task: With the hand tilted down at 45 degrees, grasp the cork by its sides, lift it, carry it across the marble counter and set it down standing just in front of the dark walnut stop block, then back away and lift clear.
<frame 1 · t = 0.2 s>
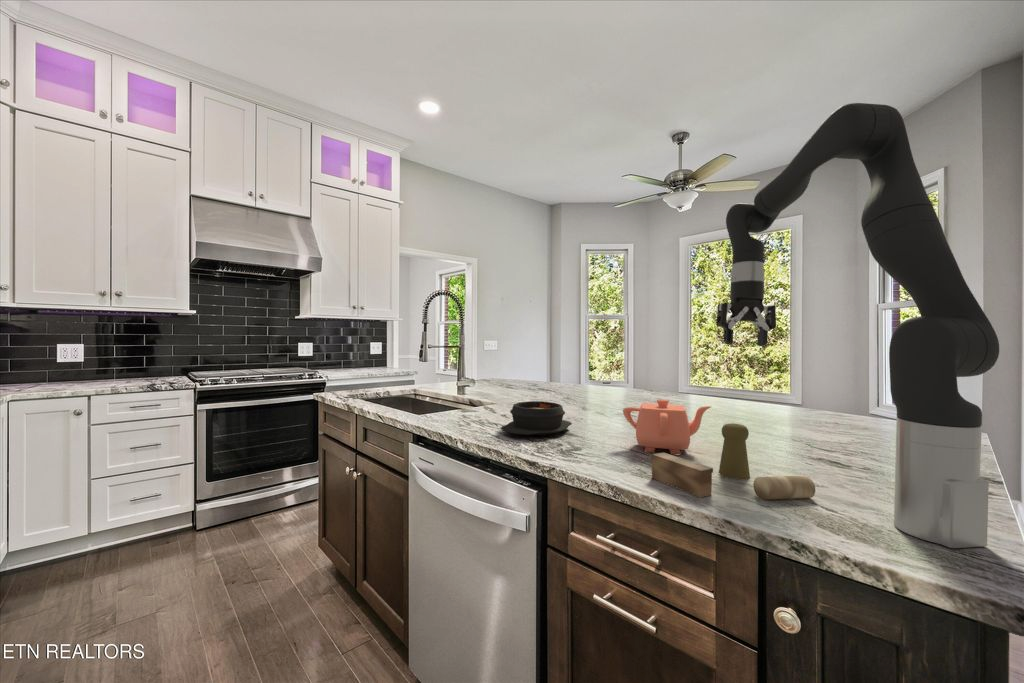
hand: (745, 345, 109), 28 cm above the worktop, tool pointing down, fingers open, 8 cm apart
casserole: (537, 432, 132), on the worktop
teapot: (665, 450, 113), on the worktop
stop block: (680, 486, 85), on the worktop
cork: (734, 475, 93), on the worktop
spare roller: (783, 498, 80), on the worktop
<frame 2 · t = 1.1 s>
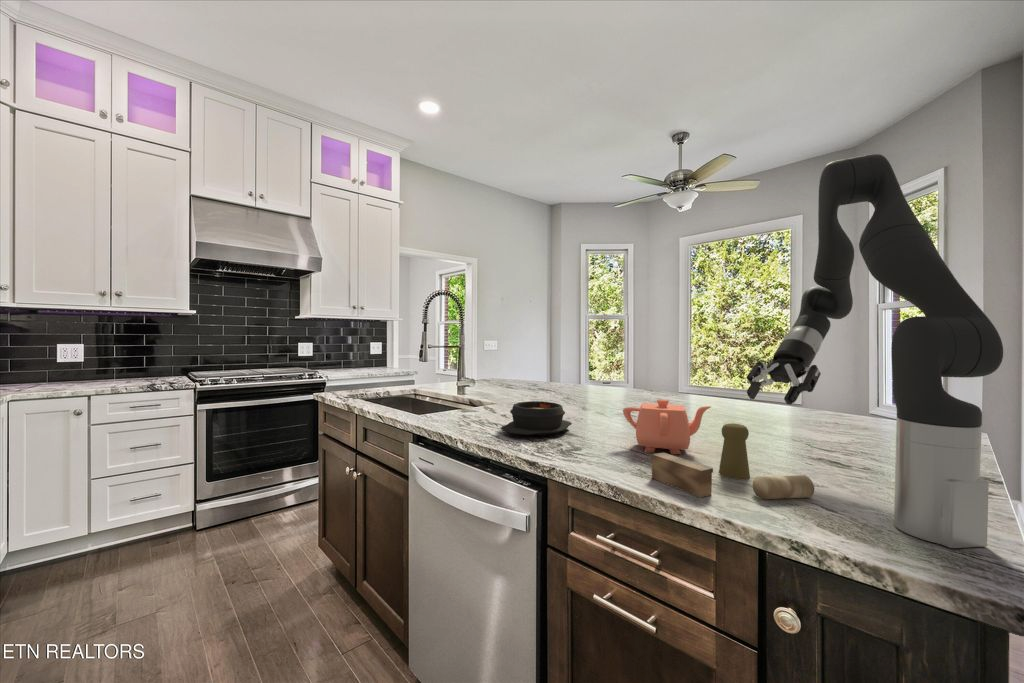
hand: (768, 399, 98), 16 cm above the worktop, tool tilted 45°, fingers open, 8 cm apart
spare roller: (783, 498, 80), on the worktop, tilted 8°
everything else where it was.
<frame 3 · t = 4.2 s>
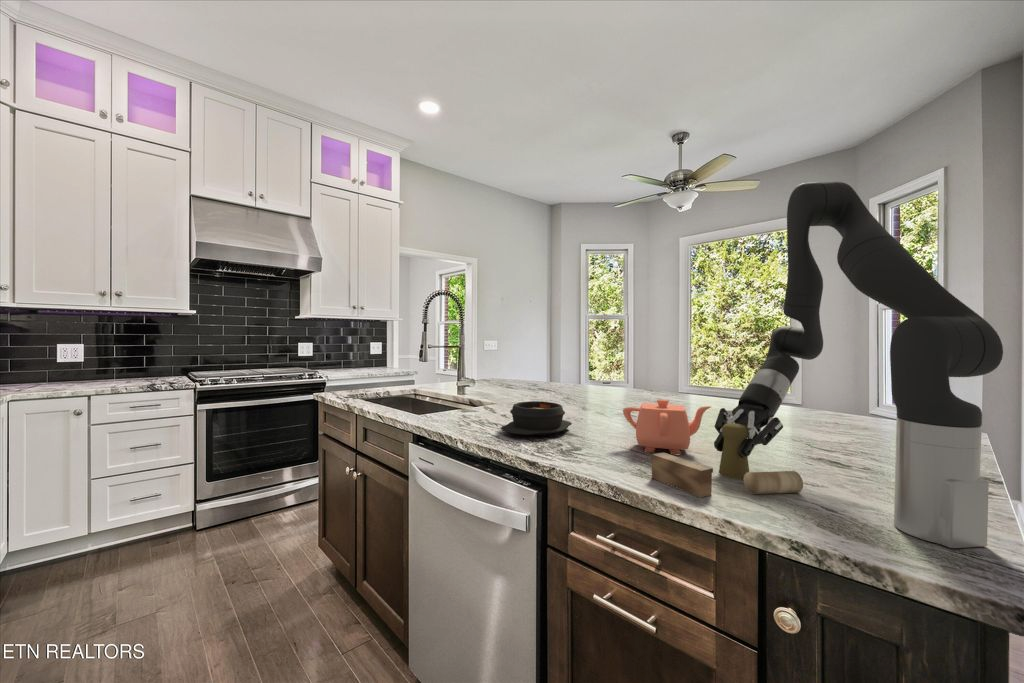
hand: (729, 452, 92), 5 cm above the worktop, tool tilted 45°, fingers closed on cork, 5 cm apart
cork: (734, 475, 93), on the worktop, touching gripper
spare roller: (780, 486, 81), point 2 cm above the worktop, tilted 85°
everything else where it was.
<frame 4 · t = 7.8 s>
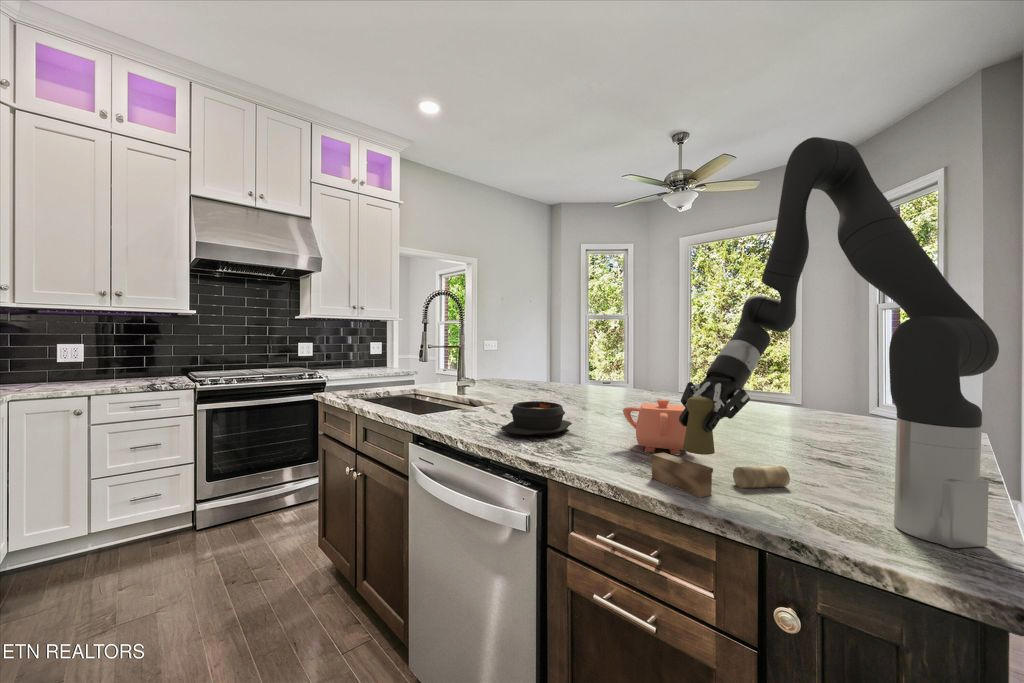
hand: (693, 426, 87), 12 cm above the worktop, tool tilted 45°, fingers closed on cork, 5 cm apart
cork: (698, 451, 88), point 6 cm above the worktop, touching gripper
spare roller: (760, 466, 86), point 4 cm above the worktop, tilted 176°
everything else where it was.
when the fingers open (6 cm above the worktop, at t = 9.1 s): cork stays where it is, on the worktop.
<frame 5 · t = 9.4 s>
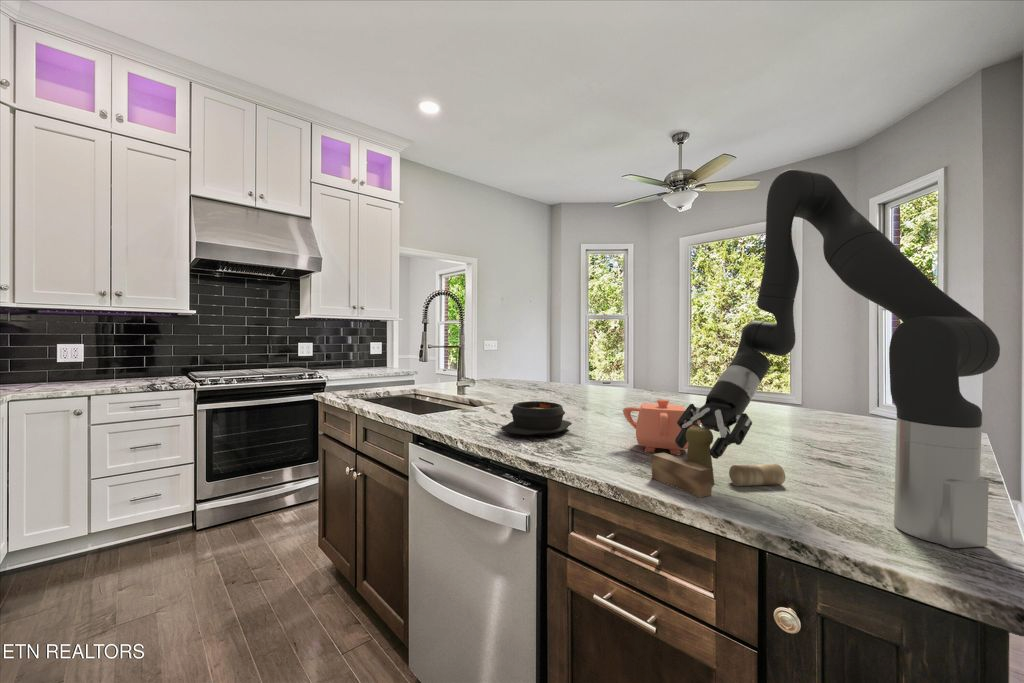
hand: (695, 450, 87), 7 cm above the worktop, tool tilted 45°, fingers open, 8 cm apart
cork: (698, 482, 88), on the worktop
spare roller: (752, 465, 88), point 3 cm above the worktop, tilted 140°
everything else where it was.
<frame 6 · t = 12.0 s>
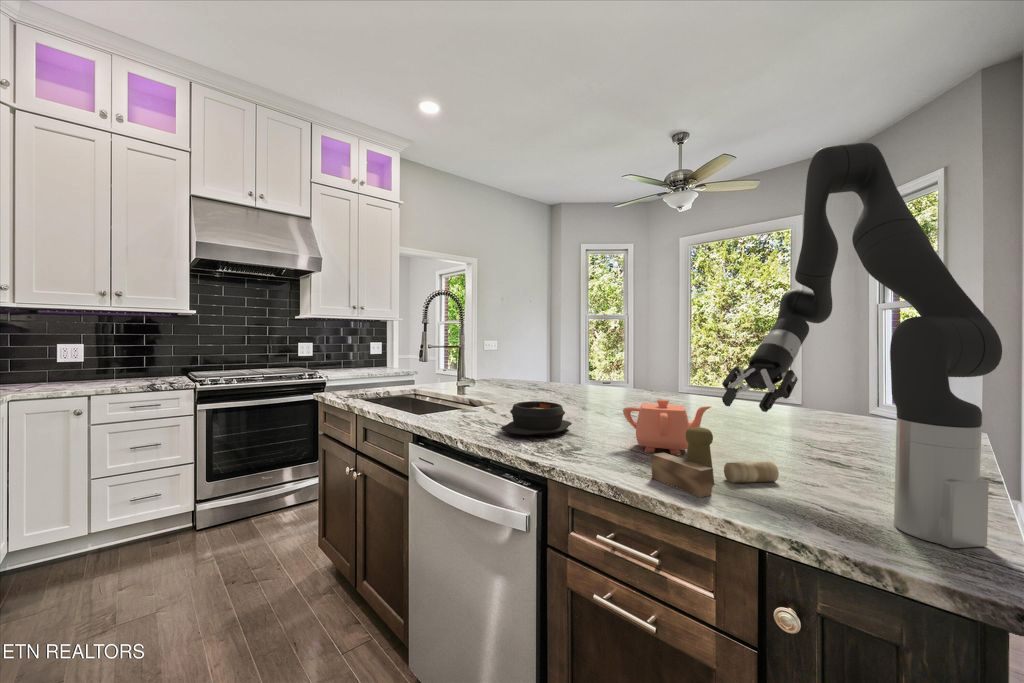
hand: (743, 406, 93), 15 cm above the worktop, tool tilted 45°, fingers open, 8 cm apart
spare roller: (744, 469, 91), point 2 cm above the worktop, tilted 87°
everything else where it was.
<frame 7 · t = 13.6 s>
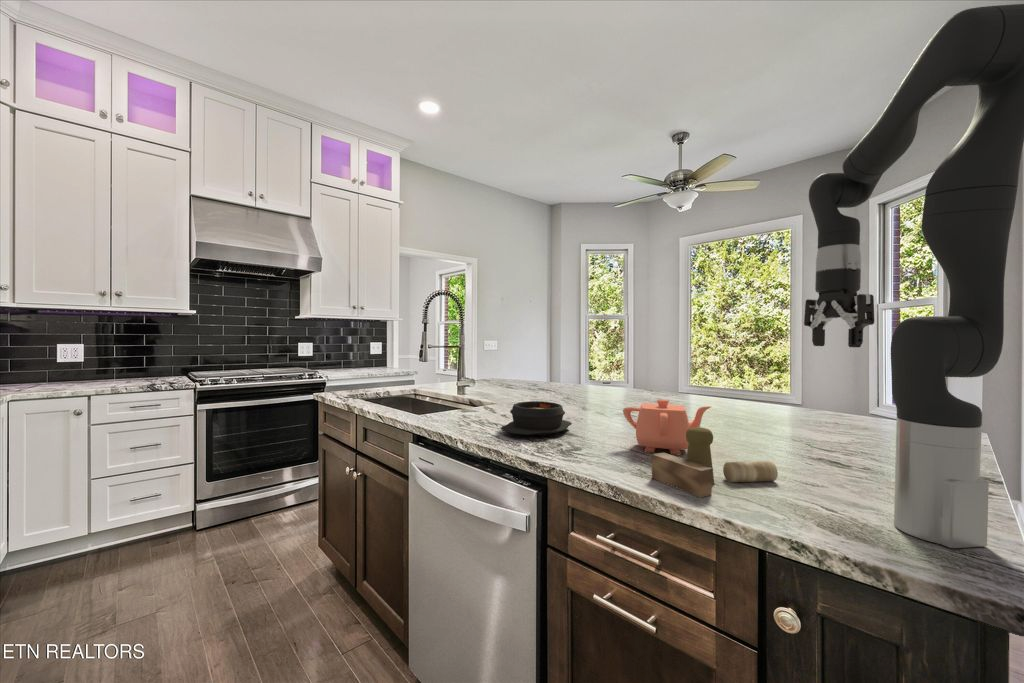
hand: (836, 346, 90), 28 cm above the worktop, tool pointing down, fingers open, 8 cm apart
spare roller: (743, 470, 91), point 1 cm above the worktop, tilted 79°
everything else where it was.
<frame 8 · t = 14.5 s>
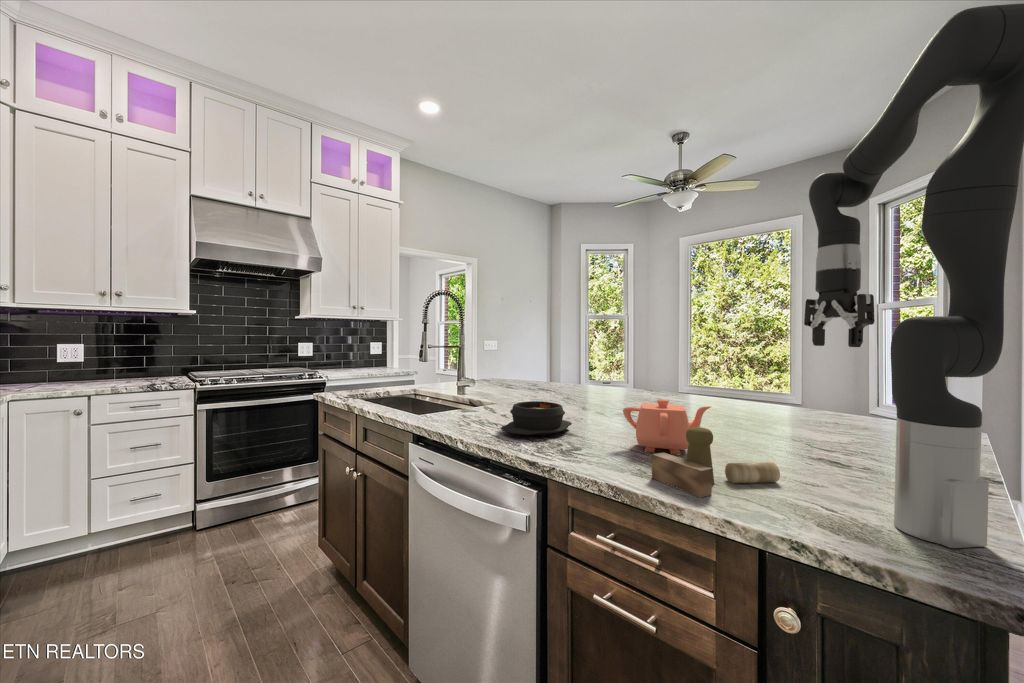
hand: (836, 346, 90), 28 cm above the worktop, tool pointing down, fingers open, 8 cm apart
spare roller: (745, 468, 91), point 2 cm above the worktop, tilted 98°
everything else where it was.
at the end: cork inside the target area (0.7 cm from its centre), on the worktop; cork tilted 0°; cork moved 10.6 cm from its start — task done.
